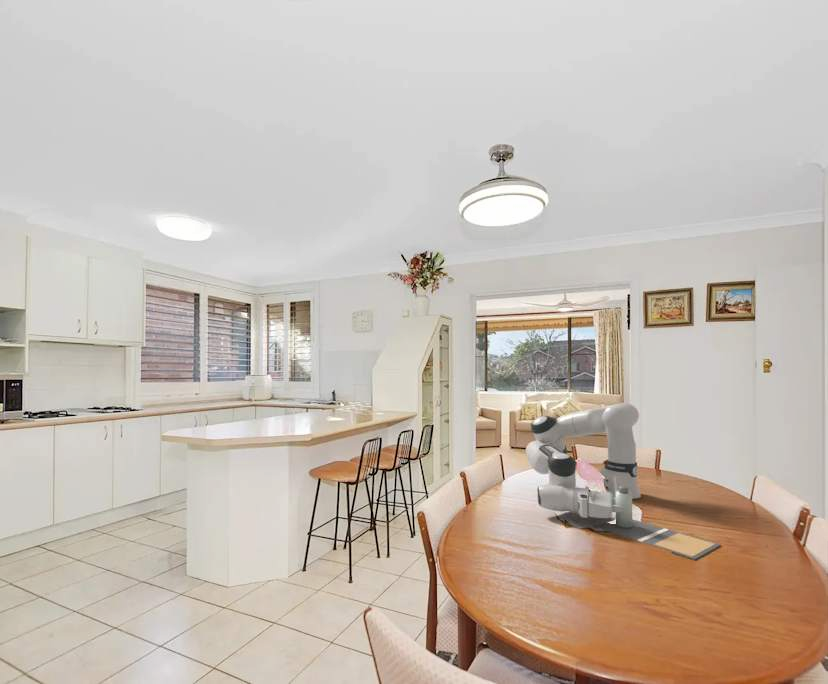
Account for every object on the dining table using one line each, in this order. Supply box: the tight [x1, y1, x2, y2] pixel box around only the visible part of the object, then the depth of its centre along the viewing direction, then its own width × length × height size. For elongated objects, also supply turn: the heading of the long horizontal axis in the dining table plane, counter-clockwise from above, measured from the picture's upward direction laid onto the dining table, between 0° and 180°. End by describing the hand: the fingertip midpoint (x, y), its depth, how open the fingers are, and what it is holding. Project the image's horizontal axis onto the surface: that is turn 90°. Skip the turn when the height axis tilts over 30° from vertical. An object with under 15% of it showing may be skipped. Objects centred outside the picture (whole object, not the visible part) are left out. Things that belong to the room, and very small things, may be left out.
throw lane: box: [593, 518, 721, 561], centre depth 148 cm, size 32×18×1 cm, turn 36°
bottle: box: [615, 486, 633, 528], centre depth 157 cm, size 5×5×13 cm
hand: (626, 506), depth 156 cm, fingers closed on bottle, 5 cm apart
